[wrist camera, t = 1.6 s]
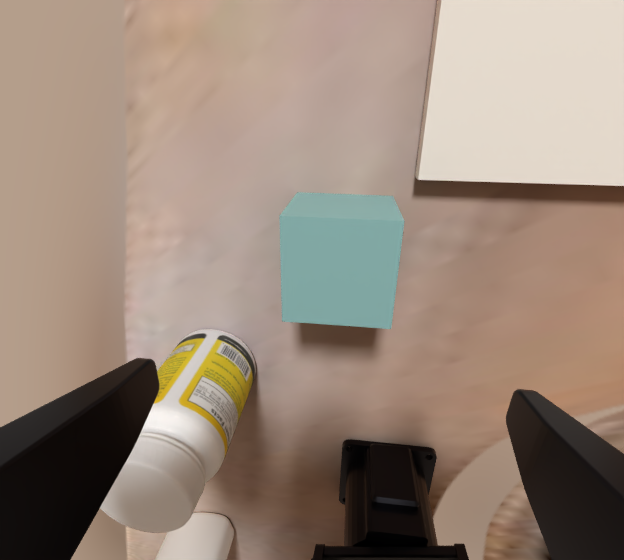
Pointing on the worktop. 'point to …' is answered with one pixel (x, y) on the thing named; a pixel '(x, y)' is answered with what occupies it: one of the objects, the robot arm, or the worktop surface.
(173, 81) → the worktop surface
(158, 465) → the supplement bottle
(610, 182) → the coaster
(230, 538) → the eye dropper bottle
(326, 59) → the worktop surface
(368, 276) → the teal cube
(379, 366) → the worktop surface
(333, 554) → the robot arm
